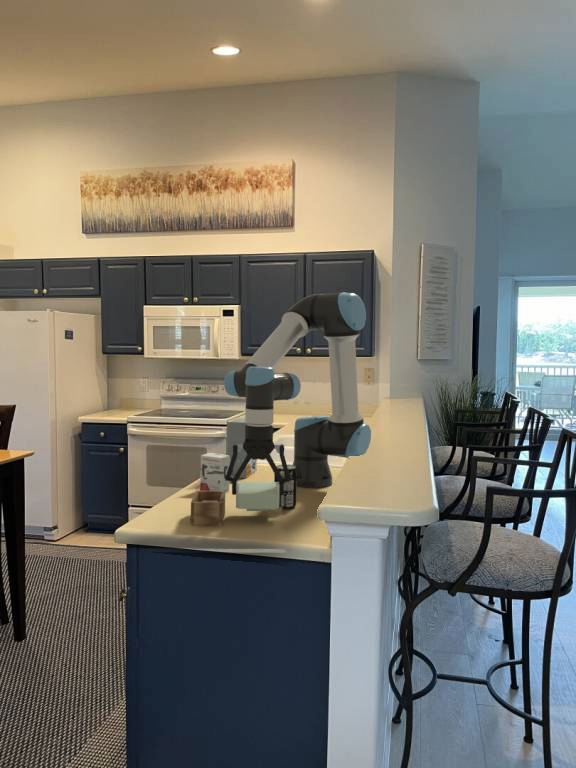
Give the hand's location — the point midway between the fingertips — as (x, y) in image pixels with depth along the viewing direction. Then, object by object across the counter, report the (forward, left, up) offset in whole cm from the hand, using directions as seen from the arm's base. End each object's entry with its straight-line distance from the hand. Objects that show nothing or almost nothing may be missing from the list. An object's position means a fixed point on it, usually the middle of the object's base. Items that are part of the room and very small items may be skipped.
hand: (257, 506), depth 168 cm
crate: (+13, +1, -4) cm, 14 cm away
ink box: (+14, -34, -4) cm, 37 cm away
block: (+13, -2, -3) cm, 13 cm away
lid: (0, 0, +1) cm, 1 cm away
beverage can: (-8, -15, -4) cm, 18 cm away
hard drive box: (+6, -61, -4) cm, 62 cm away
